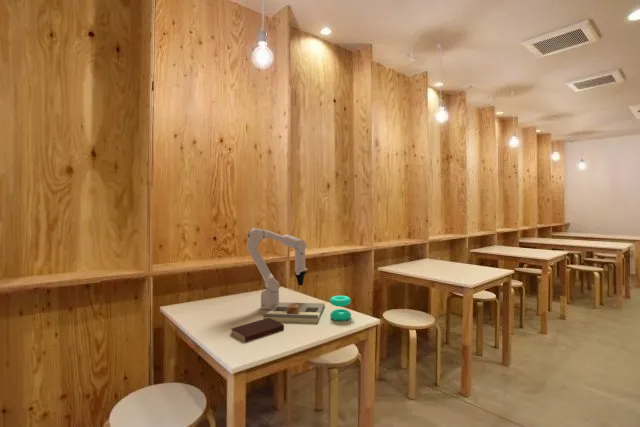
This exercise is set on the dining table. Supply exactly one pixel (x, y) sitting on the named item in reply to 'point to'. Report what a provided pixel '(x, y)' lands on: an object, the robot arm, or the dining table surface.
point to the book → (257, 329)
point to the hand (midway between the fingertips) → (300, 285)
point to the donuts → (340, 313)
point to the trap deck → (301, 317)
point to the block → (293, 309)
